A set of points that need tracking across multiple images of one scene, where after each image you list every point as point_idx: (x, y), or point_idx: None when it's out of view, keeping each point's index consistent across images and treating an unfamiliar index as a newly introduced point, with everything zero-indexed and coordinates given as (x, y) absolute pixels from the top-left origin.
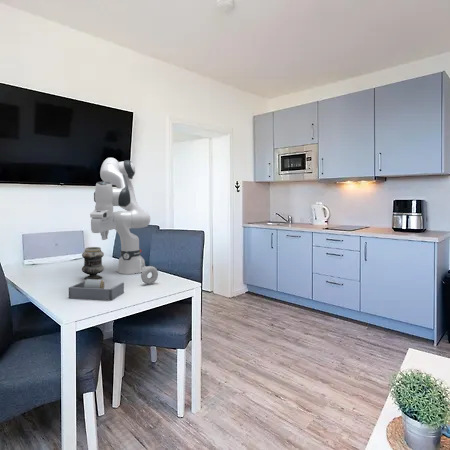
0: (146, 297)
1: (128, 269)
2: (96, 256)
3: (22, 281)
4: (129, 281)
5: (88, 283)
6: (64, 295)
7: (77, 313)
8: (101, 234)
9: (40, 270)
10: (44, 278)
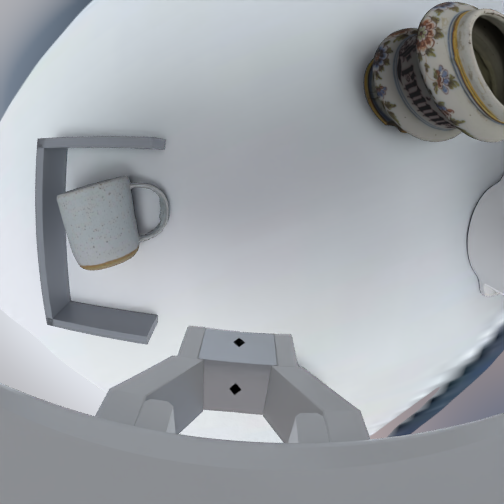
0: None
1: (483, 243)
2: (438, 104)
3: None
4: (347, 287)
5: (61, 214)
6: (93, 97)
7: None
8: (134, 391)
9: None
10: None
